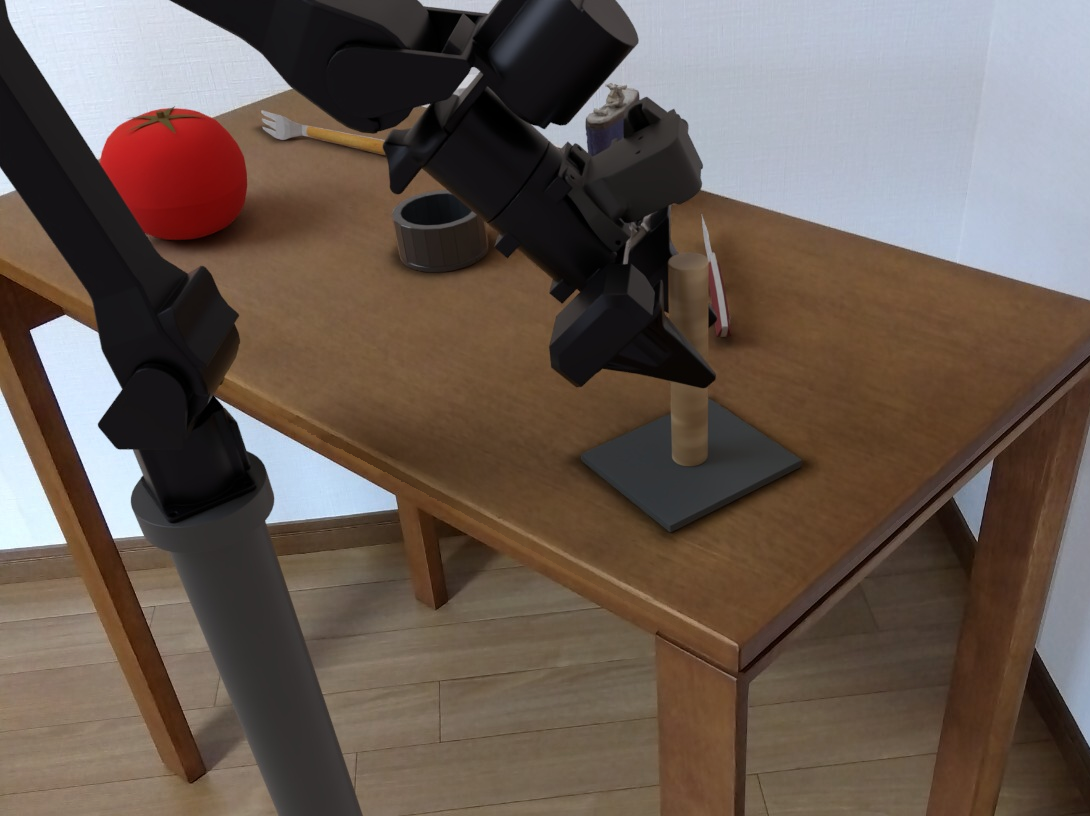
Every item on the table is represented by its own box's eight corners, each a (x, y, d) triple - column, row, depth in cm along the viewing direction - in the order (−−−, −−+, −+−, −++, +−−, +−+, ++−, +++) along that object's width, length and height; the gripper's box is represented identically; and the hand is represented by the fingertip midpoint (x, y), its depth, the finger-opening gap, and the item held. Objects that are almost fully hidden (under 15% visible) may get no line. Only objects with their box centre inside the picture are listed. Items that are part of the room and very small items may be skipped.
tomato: (209, 264, 104) (171, 142, 96) (98, 246, 108) (53, 128, 100) (285, 210, 111) (255, 94, 104) (178, 196, 116) (142, 83, 108)
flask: (623, 180, 112) (618, 65, 105) (651, 183, 111) (648, 67, 104) (586, 219, 106) (578, 101, 99) (616, 223, 105) (610, 103, 98)
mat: (670, 533, 72) (670, 525, 71) (581, 460, 78) (580, 453, 77) (801, 467, 76) (802, 459, 75) (707, 403, 82) (707, 396, 82)
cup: (426, 281, 99) (418, 237, 96) (384, 250, 104) (376, 207, 101) (505, 253, 102) (499, 210, 99) (460, 224, 107) (454, 182, 104)
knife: (733, 348, 88) (734, 312, 85) (716, 349, 88) (717, 314, 86) (707, 232, 102) (707, 199, 100) (693, 233, 103) (693, 200, 100)
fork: (402, 137, 120) (261, 107, 127) (391, 139, 118) (248, 108, 126) (402, 162, 121) (262, 131, 129) (391, 164, 119) (250, 132, 127)
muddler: (665, 460, 76) (660, 265, 67) (683, 442, 78) (681, 248, 68) (696, 470, 75) (695, 274, 66) (714, 452, 77) (716, 257, 67)
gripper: (596, 141, 53) (819, 348, 60) (624, 19, 67) (803, 197, 73) (455, 297, 59) (671, 469, 66) (507, 156, 73) (682, 310, 79)
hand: (711, 352), depth 71 cm, fingers open, 7 cm apart
